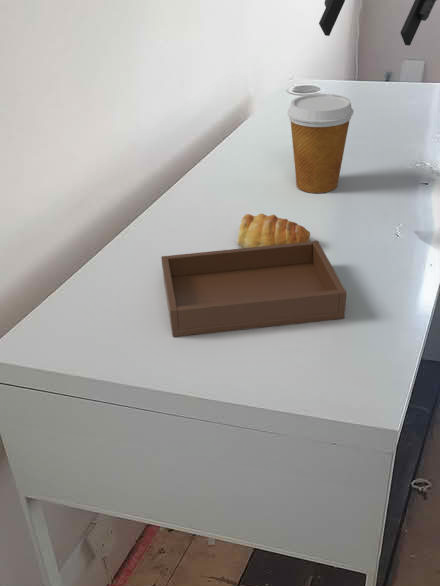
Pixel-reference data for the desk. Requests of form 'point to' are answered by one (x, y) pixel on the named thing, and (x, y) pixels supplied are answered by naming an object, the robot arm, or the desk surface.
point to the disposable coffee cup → (319, 139)
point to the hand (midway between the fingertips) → (363, 34)
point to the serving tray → (251, 288)
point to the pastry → (269, 231)
